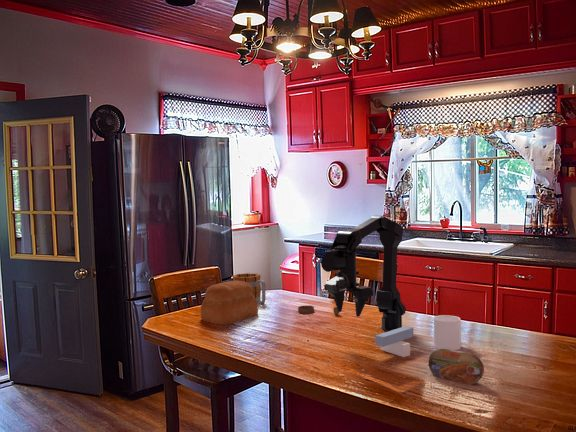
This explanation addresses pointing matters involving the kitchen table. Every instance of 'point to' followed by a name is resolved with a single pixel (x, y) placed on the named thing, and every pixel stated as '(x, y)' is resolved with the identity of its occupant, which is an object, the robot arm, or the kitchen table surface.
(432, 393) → the kitchen table surface
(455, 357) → the tin
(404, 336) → the bar
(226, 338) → the kitchen table surface
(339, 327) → the kitchen table surface
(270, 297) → the kitchen table surface
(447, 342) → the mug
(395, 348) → the fulcrum
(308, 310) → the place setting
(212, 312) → the bread
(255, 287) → the mug
